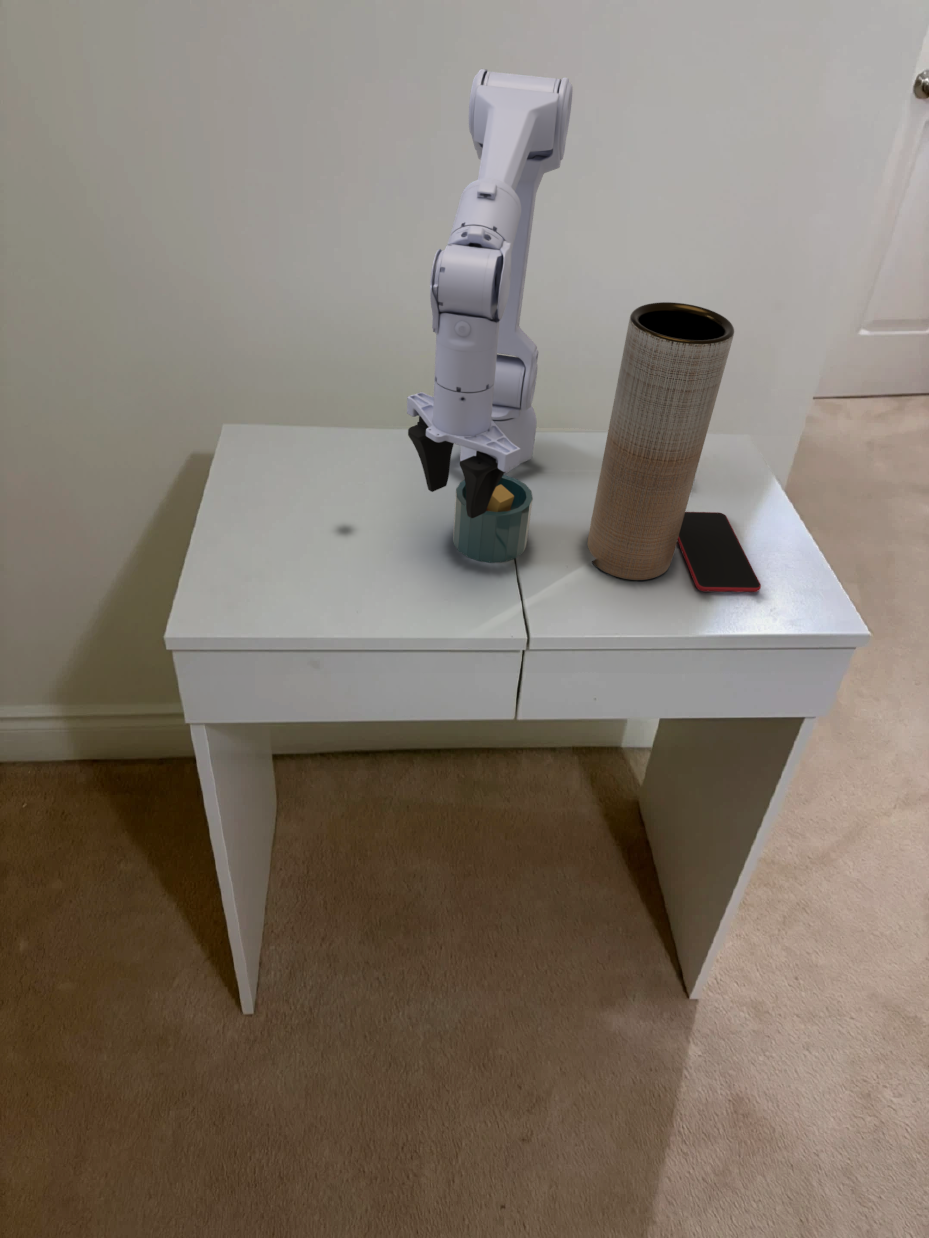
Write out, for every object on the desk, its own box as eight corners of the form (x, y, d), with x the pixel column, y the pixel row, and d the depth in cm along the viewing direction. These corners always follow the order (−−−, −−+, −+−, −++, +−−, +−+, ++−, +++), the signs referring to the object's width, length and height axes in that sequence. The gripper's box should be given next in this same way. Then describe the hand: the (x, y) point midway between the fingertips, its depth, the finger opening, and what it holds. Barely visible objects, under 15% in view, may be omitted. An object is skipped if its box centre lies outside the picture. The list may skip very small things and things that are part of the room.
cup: (489, 519, 102) (495, 465, 98) (540, 552, 98) (548, 497, 93) (437, 544, 98) (440, 489, 93) (488, 580, 93) (493, 524, 89)
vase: (654, 529, 103) (711, 301, 85) (683, 579, 96) (752, 341, 78) (575, 533, 101) (617, 301, 83) (599, 584, 94) (650, 342, 76)
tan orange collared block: (467, 540, 97) (482, 533, 98) (486, 558, 96) (501, 550, 97) (482, 488, 91) (498, 480, 92) (502, 505, 90) (518, 498, 91)
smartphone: (698, 588, 93) (667, 510, 104) (696, 594, 94) (665, 517, 105) (763, 588, 94) (725, 512, 105) (761, 595, 94) (723, 518, 106)
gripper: (383, 362, 82) (383, 483, 91) (486, 421, 74) (475, 546, 83) (438, 345, 86) (433, 463, 95) (541, 399, 78) (525, 521, 87)
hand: (456, 500), depth 89 cm, fingers open, 6 cm apart
